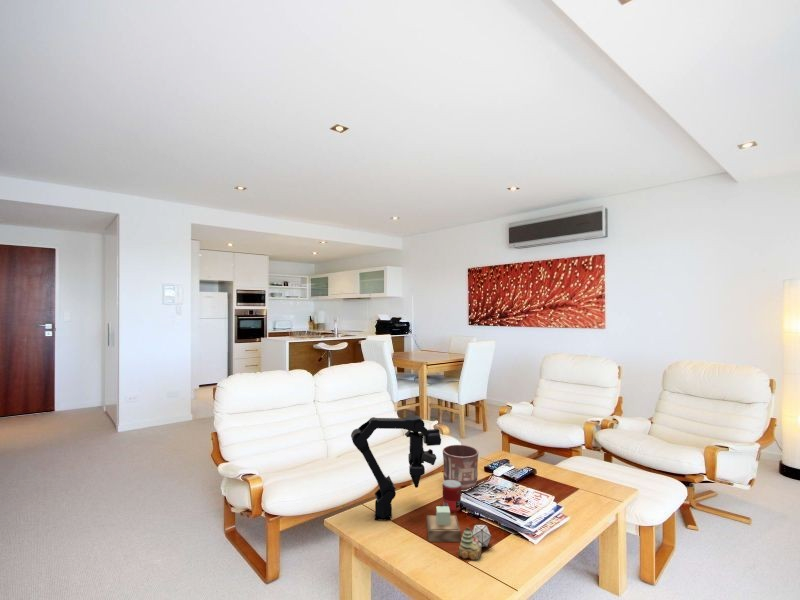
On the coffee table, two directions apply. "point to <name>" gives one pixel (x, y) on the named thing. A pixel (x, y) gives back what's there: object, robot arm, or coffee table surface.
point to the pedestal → (443, 530)
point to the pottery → (461, 465)
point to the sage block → (443, 515)
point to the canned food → (452, 494)
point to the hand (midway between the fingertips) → (416, 482)
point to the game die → (481, 534)
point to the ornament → (469, 546)
